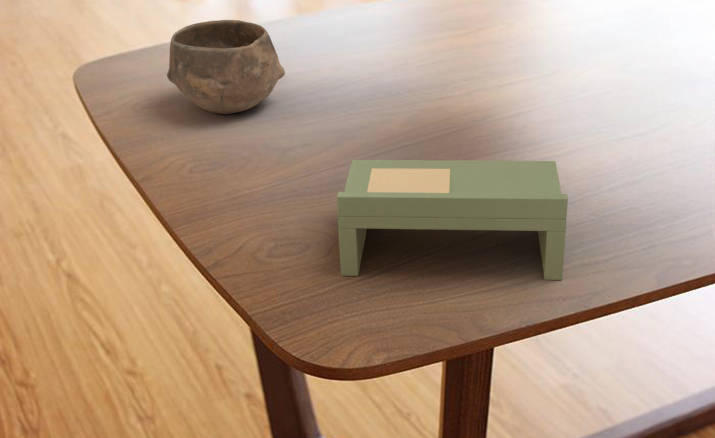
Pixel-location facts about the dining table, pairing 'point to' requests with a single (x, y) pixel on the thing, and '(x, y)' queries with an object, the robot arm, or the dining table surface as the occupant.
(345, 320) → the dining table surface
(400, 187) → the shelf
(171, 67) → the bowl
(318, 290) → the dining table surface
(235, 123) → the dining table surface
